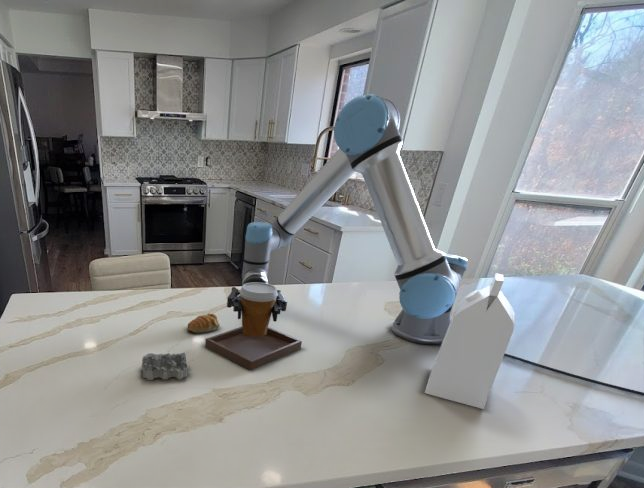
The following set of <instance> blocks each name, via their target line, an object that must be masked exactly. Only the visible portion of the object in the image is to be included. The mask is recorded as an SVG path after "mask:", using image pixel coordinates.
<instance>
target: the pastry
mask: <svg viewBox="0 0 644 488" xmlns="http://www.w3.org/2000/svg"><path fill="white" fill-rule="evenodd" d="M220 325H221V324H220V322H219V319H218V316H217V315H215V314H214V313H207V314H202V315H199V316H197V317H195V318H194V319H192V320H191V321H189V323H187V328H186V329H187V330H188V331H190V332H193V333H196V334H201V333H208V332H209V333H210V332H213V331H217V330H218V329H219V328H220Z"/></svg>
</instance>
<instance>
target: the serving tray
mask: <svg viewBox="0 0 644 488" xmlns="http://www.w3.org/2000/svg"><path fill="white" fill-rule="evenodd" d="M302 342H303V341H302V339H301V340H300V339H298V338H295V337H293V336H291V335H288V334H286V333H283V332H282V331H279V330H276V329H274V328H271V327H269V326H268V329H267V332H266V334H265V335H264V336H260V337H253V336H248V335H246V334H244V333H243V332H242V326H240V327H236V328H233V329H231V330H228V331H225V332H221V333H219V334H216V335H212V336H210V337H207V338H205V342H204V346H205V348H207V349H209V350H211V351H213V352H215V353H216V354H219V355H220V356H223V357H224V358H227V359H228V360H230V361H233V362H235V363H236V364H238V365H240V366H242V367H244V368H246V369H248V370H249V371H252V370H254V369H257V368H259V367H261V366H263V365H266V364H268V363H271V362H272V361H275V360H278V359H280V358H282V357H285V356H287V355H289V354H292V353H294V352H297V351H299V350H301V348H302V344H303V343H302Z"/></svg>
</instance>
